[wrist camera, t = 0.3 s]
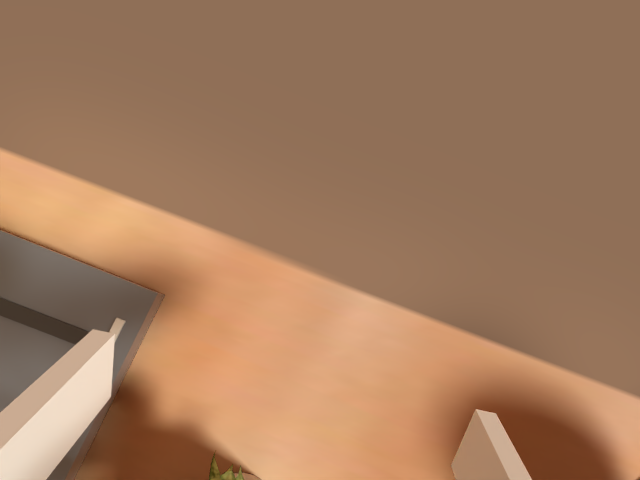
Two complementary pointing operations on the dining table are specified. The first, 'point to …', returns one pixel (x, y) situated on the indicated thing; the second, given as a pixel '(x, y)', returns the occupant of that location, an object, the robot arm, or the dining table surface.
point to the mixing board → (63, 323)
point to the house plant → (228, 473)
